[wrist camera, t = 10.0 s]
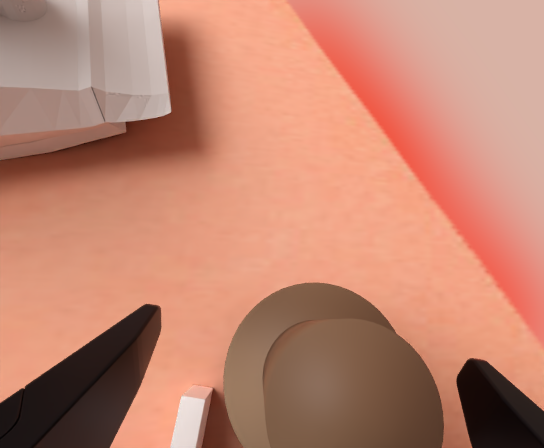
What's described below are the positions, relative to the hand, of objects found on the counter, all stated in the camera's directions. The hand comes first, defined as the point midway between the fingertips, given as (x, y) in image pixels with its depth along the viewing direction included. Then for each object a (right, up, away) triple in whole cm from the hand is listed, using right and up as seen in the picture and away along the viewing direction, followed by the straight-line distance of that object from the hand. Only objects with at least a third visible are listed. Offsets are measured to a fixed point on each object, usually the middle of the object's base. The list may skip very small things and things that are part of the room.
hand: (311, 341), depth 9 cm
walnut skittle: (0, -3, +7) cm, 8 cm away
